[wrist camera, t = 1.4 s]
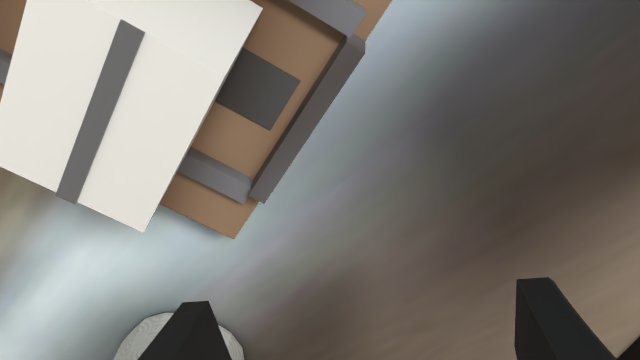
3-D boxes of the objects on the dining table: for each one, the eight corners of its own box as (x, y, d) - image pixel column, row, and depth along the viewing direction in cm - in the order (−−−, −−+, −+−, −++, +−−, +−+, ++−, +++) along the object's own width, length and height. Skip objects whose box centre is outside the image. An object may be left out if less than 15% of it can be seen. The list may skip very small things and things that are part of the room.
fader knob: (263, 8, 15) (223, 78, 11) (194, 139, 18) (142, 235, 14) (128, -73, 14) (31, -28, 10) (76, 78, 17) (-18, 161, 13)
